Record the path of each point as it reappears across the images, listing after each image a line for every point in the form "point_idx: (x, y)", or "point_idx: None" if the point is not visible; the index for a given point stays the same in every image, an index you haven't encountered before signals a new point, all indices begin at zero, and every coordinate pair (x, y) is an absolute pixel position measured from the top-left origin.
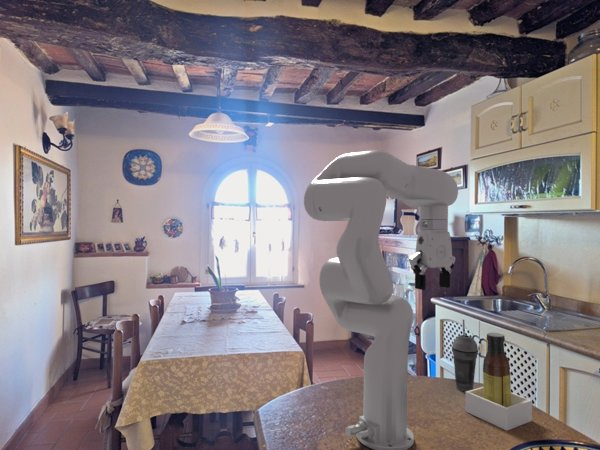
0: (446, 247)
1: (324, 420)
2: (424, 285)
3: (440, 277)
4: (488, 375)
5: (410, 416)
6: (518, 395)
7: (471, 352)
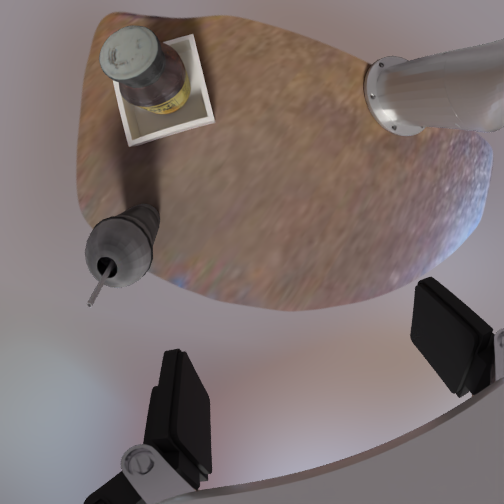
0: None
1: (441, 171)
2: (440, 289)
3: (208, 443)
4: (184, 69)
5: (329, 134)
6: (115, 85)
7: (119, 217)
